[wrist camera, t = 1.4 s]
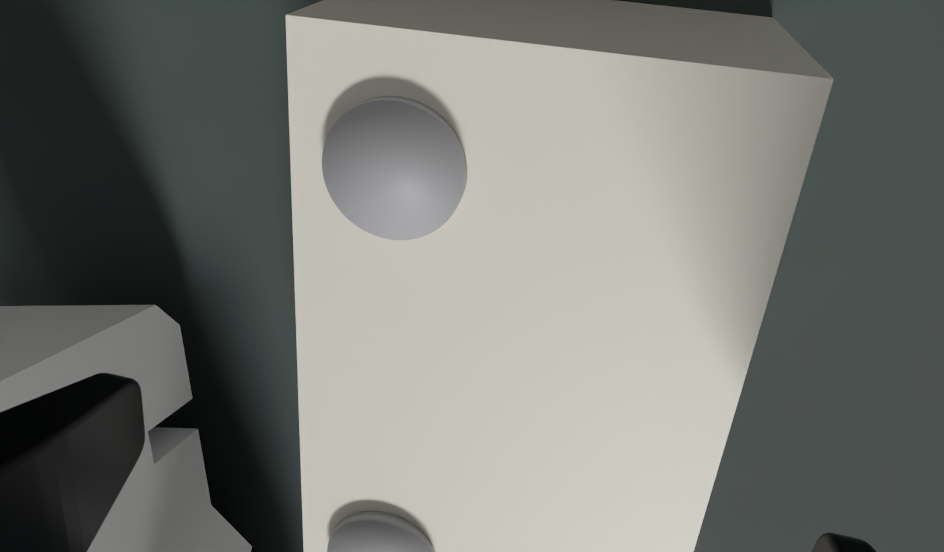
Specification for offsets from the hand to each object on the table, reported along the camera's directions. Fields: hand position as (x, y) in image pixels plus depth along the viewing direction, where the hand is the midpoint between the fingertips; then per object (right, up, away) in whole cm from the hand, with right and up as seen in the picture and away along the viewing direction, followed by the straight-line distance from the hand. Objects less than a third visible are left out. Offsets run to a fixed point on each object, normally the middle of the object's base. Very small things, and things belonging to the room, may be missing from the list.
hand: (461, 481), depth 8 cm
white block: (+1, +2, +5) cm, 6 cm away
